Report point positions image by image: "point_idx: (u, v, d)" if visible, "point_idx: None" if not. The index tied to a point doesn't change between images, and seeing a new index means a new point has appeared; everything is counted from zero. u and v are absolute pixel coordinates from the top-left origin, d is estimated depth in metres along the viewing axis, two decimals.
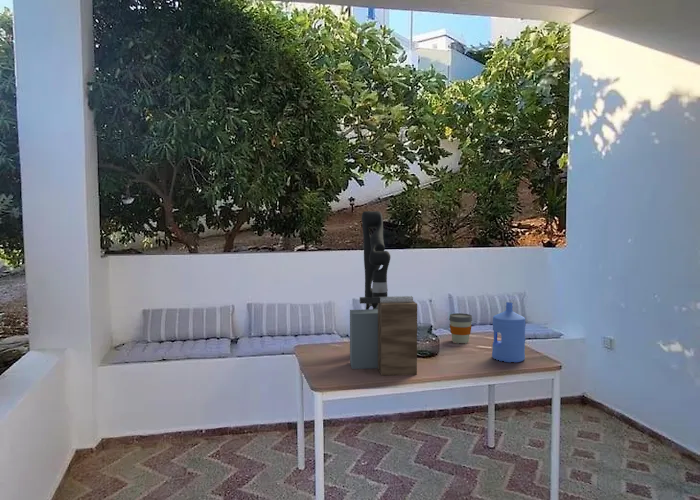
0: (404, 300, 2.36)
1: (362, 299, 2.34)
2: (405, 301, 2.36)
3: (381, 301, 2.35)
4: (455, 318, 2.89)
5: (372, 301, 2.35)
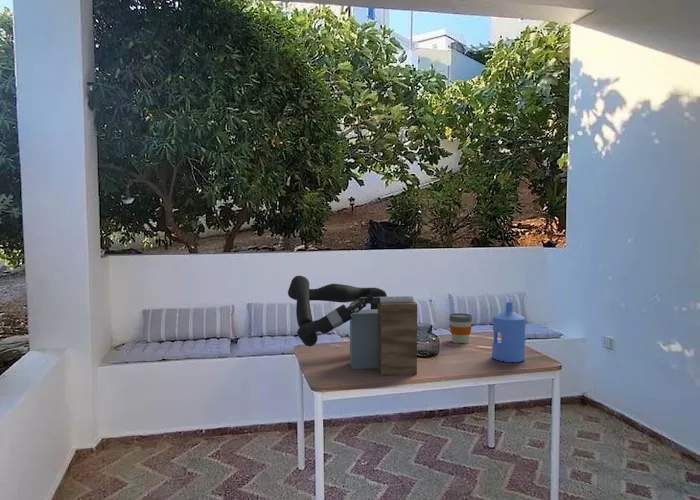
0: (404, 300, 2.36)
1: (362, 299, 2.34)
2: (405, 301, 2.36)
3: (381, 301, 2.35)
4: (455, 318, 2.90)
5: (372, 301, 2.35)
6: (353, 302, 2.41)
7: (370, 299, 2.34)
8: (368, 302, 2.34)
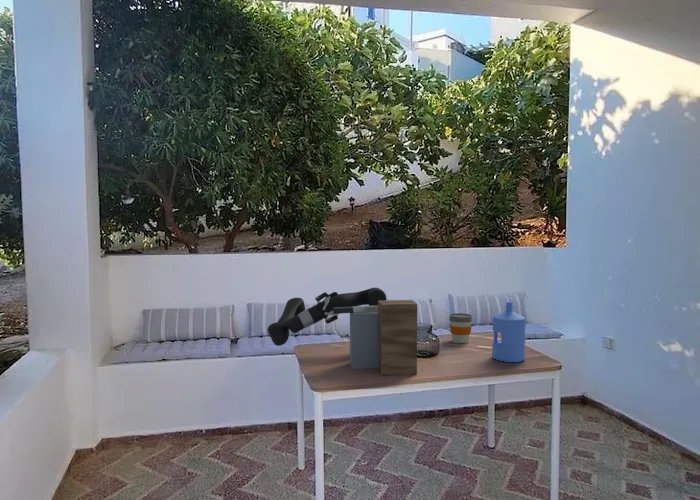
0: (375, 309, 2.47)
1: (336, 309, 2.42)
2: (376, 310, 2.47)
3: (354, 311, 2.44)
4: (455, 318, 2.89)
5: (345, 311, 2.43)
6: (328, 318, 2.47)
7: None
8: (332, 295, 2.43)
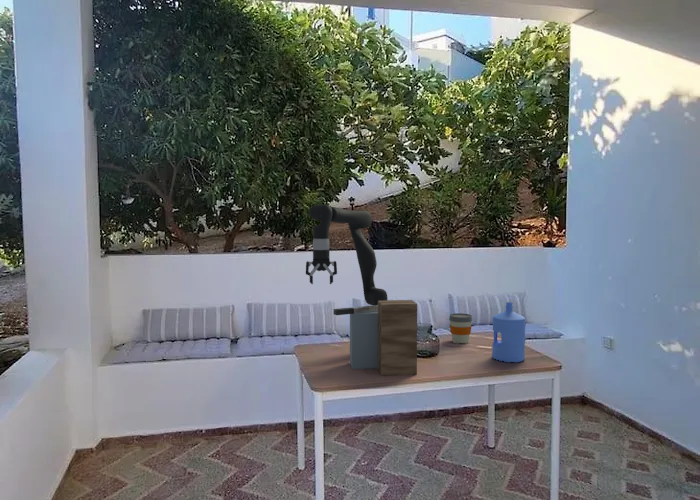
0: (374, 309, 2.47)
1: (338, 311, 2.39)
2: (375, 310, 2.47)
3: (355, 311, 2.43)
4: (455, 318, 2.89)
5: (347, 312, 2.41)
6: None
7: None
8: (331, 278, 2.39)
